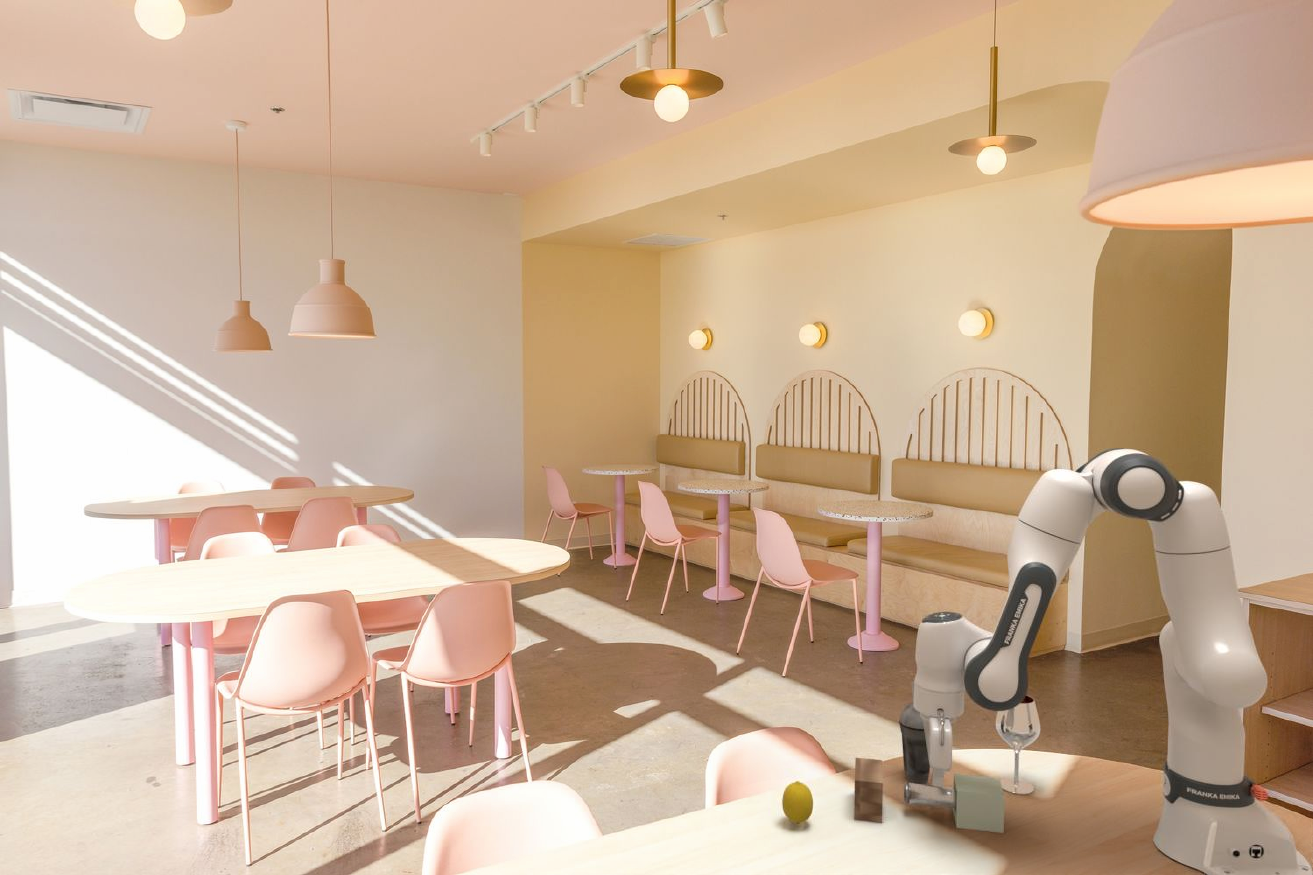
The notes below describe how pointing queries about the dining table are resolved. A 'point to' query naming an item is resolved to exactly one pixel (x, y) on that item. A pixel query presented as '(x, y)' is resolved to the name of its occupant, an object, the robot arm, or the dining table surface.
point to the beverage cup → (914, 745)
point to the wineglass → (1018, 738)
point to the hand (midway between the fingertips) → (935, 773)
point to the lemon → (797, 802)
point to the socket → (868, 790)
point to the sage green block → (979, 803)
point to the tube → (930, 795)
